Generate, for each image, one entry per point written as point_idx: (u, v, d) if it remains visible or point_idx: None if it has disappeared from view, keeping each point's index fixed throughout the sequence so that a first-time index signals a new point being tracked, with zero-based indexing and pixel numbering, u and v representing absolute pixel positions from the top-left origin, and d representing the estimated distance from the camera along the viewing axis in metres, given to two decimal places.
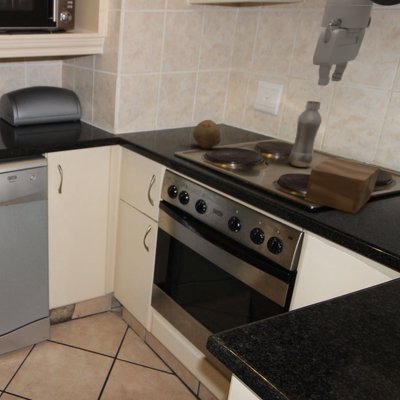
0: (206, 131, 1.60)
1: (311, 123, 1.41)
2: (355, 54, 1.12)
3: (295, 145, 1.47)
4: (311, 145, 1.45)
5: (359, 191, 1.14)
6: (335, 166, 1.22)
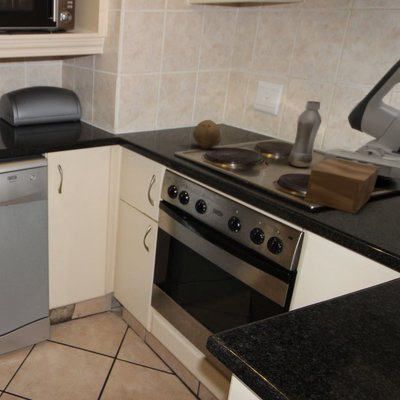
0: (206, 131, 1.60)
1: (311, 123, 1.41)
2: (399, 165, 1.29)
3: (295, 145, 1.47)
4: (311, 145, 1.45)
5: (359, 191, 1.14)
6: (335, 166, 1.22)
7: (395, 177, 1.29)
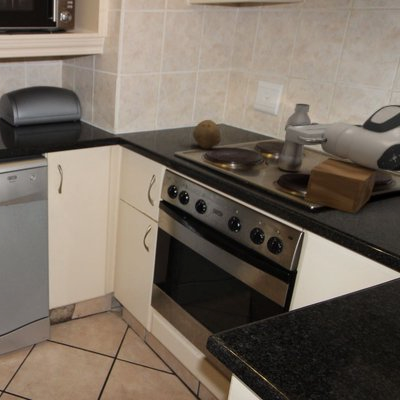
0: (206, 131, 1.60)
1: None
2: None
3: (284, 149, 1.43)
4: (300, 149, 1.41)
5: (359, 191, 1.14)
6: (335, 166, 1.22)
7: None
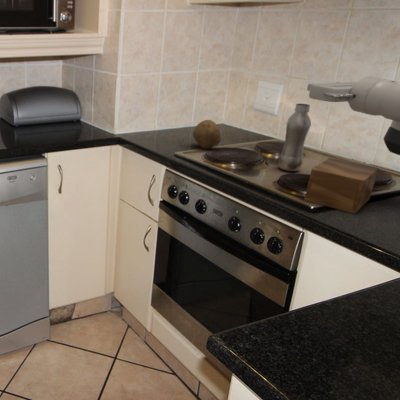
0: (206, 131, 1.60)
1: (300, 126, 1.38)
2: None
3: (284, 149, 1.43)
4: (300, 149, 1.41)
5: (359, 191, 1.14)
6: (335, 166, 1.22)
7: None
